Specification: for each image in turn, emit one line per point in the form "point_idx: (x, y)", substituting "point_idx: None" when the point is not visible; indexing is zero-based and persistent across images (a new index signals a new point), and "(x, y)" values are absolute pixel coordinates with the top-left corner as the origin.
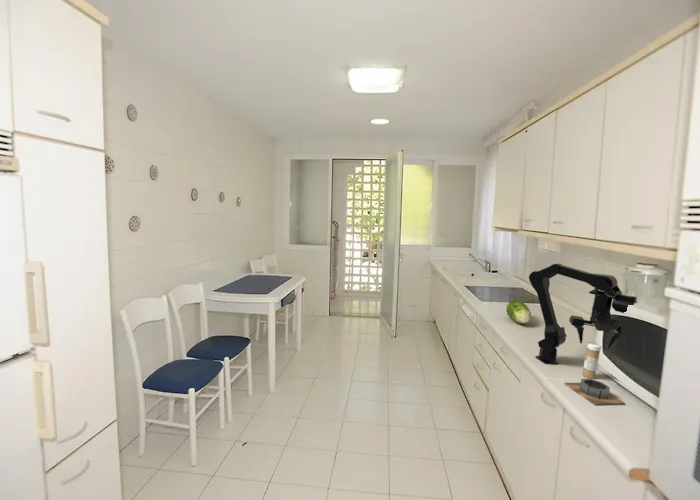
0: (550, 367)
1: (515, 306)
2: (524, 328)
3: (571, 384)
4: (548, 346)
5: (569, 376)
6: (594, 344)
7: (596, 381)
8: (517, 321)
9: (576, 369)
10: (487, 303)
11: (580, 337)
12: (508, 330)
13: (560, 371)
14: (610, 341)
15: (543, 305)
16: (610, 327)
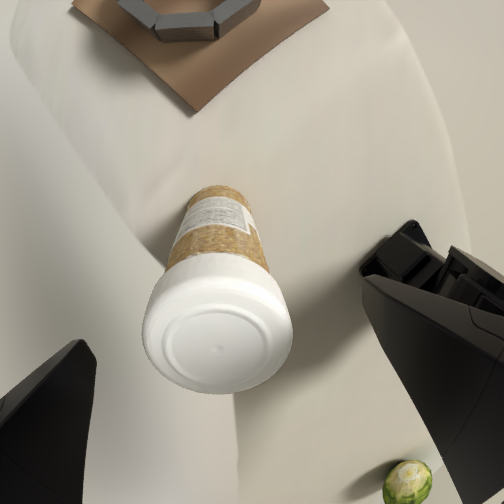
0: (393, 190)
1: (429, 488)
2: (396, 452)
3: (299, 6)
4: (471, 257)
5: (311, 131)
6: (215, 347)
7: (178, 14)
8: (413, 460)
9: (277, 266)
10: None
11: (438, 299)
12: None
13: (353, 170)
14: (29, 396)
15: None
16: None
